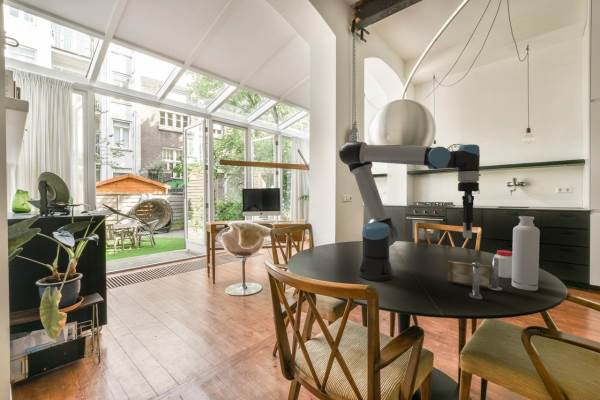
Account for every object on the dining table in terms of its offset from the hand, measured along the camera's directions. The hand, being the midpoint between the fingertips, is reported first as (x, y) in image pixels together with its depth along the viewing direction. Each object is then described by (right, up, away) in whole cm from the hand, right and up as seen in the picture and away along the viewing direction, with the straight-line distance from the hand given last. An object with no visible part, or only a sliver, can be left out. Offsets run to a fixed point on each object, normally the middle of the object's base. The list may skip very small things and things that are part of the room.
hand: (467, 237), depth 115 cm
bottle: (+19, -19, -7) cm, 28 cm away
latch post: (-7, -19, -17) cm, 27 cm away
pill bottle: (+21, -19, +7) cm, 29 cm away
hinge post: (+5, -19, -9) cm, 22 cm away
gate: (-3, -18, -5) cm, 19 cm away
